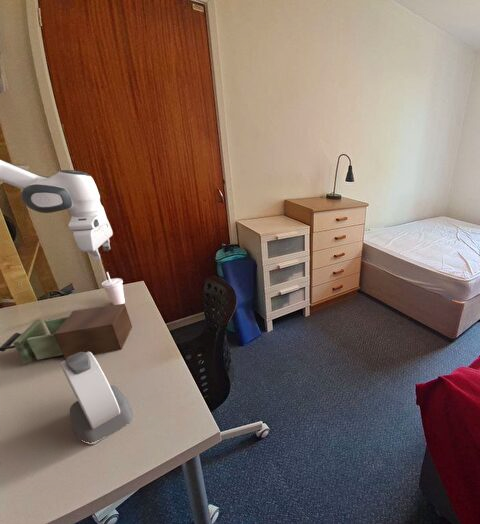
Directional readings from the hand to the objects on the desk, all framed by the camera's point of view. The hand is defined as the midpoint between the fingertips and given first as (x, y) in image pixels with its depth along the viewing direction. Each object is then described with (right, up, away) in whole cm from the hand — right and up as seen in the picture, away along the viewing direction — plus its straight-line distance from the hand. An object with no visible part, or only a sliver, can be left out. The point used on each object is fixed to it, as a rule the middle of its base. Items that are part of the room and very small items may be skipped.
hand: (102, 254), depth 104 cm
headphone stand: (+33, -40, -37) cm, 64 cm away
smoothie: (-1, -19, +8) cm, 21 cm away
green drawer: (0, -29, -18) cm, 34 cm away
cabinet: (+11, -29, -13) cm, 33 cm away
